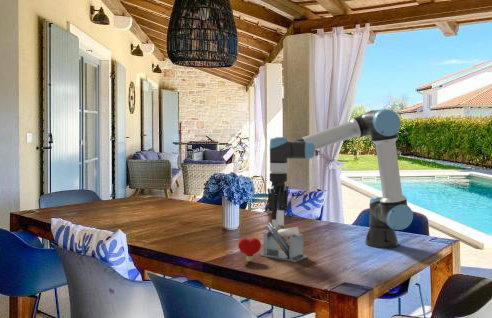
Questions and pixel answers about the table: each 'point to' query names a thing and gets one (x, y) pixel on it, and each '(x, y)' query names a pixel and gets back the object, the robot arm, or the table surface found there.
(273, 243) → the chute
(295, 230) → the peg
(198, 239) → the table surface
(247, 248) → the red heart on stand
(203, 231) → the table surface
